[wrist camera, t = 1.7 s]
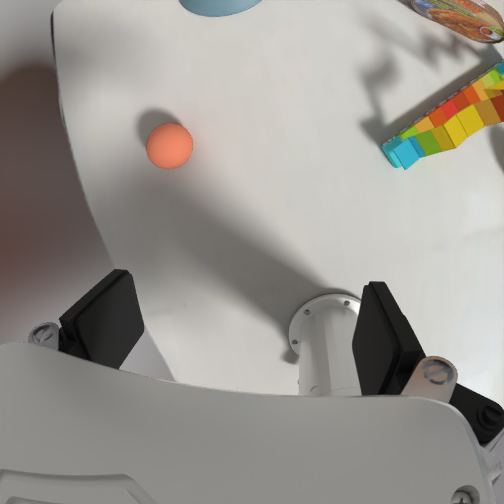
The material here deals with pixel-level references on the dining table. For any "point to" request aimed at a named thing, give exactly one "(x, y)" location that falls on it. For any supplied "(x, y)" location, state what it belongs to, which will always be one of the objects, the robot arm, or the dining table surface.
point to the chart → (451, 120)
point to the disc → (218, 6)
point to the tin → (464, 18)
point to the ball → (169, 146)
